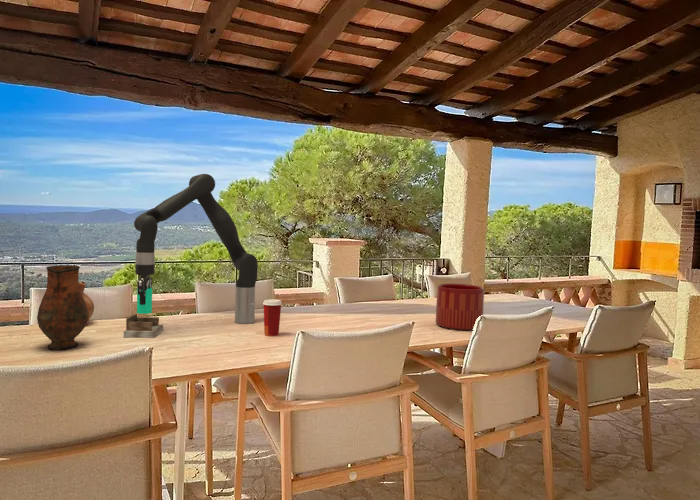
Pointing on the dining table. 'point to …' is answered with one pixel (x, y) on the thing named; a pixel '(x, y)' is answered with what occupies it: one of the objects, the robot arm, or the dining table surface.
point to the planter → (459, 305)
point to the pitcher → (62, 308)
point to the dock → (142, 327)
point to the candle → (148, 306)
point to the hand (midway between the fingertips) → (144, 303)
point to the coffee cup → (272, 317)
